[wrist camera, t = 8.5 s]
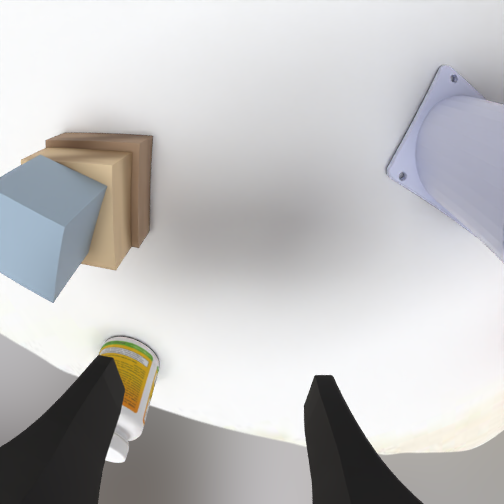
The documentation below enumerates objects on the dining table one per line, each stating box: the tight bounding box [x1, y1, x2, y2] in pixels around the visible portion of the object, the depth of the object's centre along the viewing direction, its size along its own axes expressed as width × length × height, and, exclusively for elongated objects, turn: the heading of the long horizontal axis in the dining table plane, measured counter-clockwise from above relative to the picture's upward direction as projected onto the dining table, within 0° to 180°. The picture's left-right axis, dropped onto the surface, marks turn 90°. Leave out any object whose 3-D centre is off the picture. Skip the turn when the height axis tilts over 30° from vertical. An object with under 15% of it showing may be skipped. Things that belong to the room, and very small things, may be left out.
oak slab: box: [21, 147, 132, 270], centre depth 15 cm, size 6×6×2 cm
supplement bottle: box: [99, 337, 159, 463], centre depth 21 cm, size 5×5×10 cm
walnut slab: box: [46, 133, 153, 248], centre depth 17 cm, size 6×6×2 cm
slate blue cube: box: [0, 155, 107, 303], centre depth 12 cm, size 4×4×4 cm
